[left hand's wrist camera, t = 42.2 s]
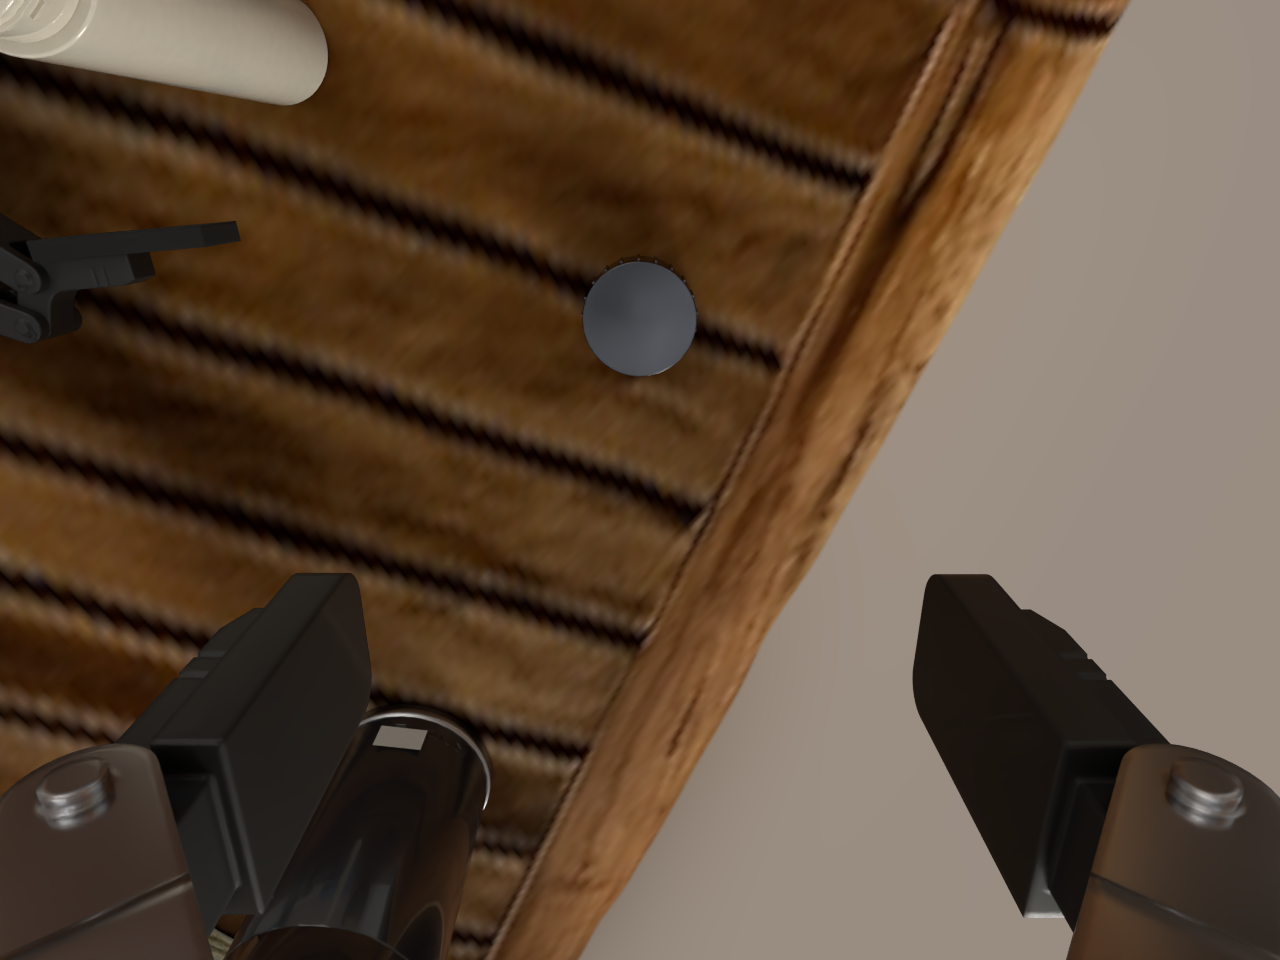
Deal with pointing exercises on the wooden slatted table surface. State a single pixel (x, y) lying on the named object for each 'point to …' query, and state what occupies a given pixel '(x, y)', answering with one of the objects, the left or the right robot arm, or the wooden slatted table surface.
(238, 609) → the wooden slatted table surface
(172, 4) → the cream bottle
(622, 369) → the lid
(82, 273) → the right robot arm
